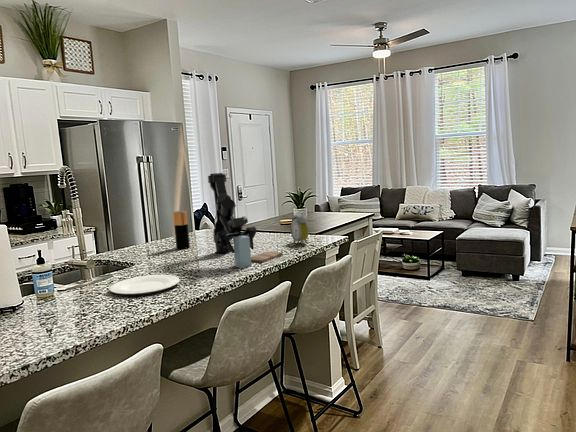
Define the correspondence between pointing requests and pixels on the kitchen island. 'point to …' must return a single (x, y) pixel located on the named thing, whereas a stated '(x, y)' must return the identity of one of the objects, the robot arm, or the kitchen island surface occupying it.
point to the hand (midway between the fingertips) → (243, 250)
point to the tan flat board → (265, 256)
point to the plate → (144, 284)
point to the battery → (181, 229)
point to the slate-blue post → (242, 251)
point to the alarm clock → (299, 228)
